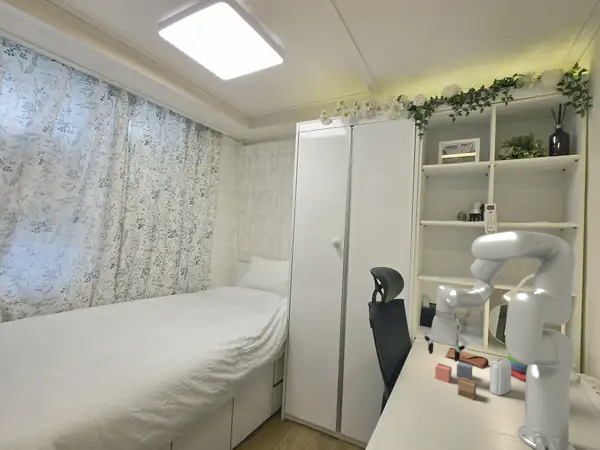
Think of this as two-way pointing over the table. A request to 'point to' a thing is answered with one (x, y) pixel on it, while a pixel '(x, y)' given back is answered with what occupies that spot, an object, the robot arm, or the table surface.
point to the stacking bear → (518, 369)
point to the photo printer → (500, 376)
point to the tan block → (467, 388)
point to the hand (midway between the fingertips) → (443, 356)
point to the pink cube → (443, 372)
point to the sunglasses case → (469, 358)
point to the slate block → (464, 370)
